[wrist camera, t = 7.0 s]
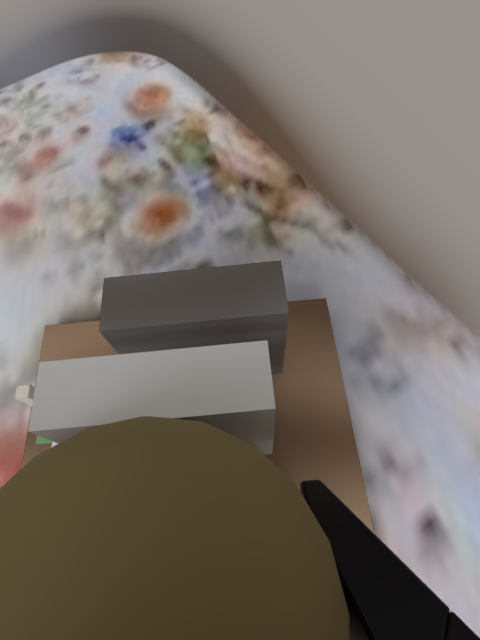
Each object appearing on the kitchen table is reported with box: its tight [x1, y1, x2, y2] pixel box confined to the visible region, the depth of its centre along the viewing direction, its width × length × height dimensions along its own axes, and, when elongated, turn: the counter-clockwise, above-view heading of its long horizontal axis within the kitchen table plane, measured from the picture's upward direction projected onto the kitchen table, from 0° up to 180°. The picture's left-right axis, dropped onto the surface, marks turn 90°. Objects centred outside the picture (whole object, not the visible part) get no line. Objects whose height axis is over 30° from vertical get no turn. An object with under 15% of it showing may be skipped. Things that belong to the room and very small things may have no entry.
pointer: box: [15, 385, 35, 407], centre depth 14 cm, size 1×2×5 cm, turn 95°
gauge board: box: [21, 261, 374, 533], centre depth 14 cm, size 11×14×6 cm
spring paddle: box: [28, 340, 276, 455], centre depth 11 cm, size 2×8×10 cm, turn 94°
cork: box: [0, 416, 350, 640], centre depth 9 cm, size 6×6×11 cm
